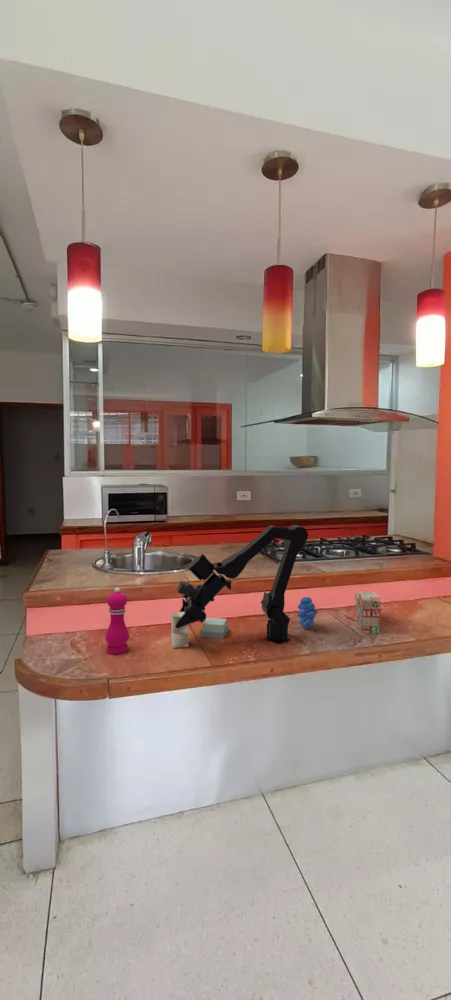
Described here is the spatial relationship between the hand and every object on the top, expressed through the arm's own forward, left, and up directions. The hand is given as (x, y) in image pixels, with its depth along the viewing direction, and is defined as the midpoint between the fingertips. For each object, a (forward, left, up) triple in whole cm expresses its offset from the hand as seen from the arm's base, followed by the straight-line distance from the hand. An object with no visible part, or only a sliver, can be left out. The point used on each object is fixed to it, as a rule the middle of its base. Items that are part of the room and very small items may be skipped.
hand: (175, 624), depth 151 cm
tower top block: (-1, -17, -5) cm, 18 cm away
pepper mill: (+9, +16, -7) cm, 20 cm away
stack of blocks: (-33, -65, -7) cm, 73 cm away
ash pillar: (-1, -1, -7) cm, 7 cm away
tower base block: (-1, -17, -7) cm, 19 cm away
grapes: (-21, -45, -7) cm, 50 cm away
